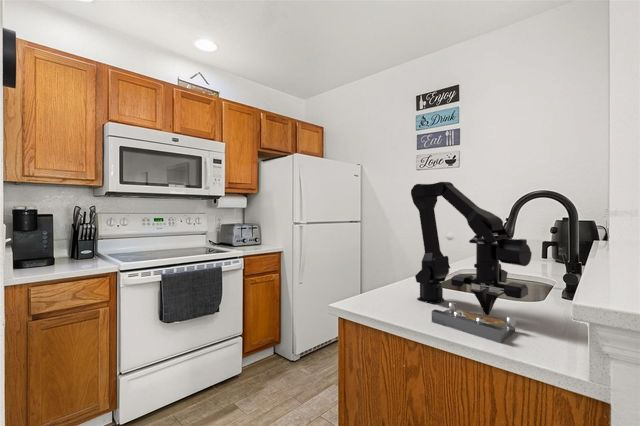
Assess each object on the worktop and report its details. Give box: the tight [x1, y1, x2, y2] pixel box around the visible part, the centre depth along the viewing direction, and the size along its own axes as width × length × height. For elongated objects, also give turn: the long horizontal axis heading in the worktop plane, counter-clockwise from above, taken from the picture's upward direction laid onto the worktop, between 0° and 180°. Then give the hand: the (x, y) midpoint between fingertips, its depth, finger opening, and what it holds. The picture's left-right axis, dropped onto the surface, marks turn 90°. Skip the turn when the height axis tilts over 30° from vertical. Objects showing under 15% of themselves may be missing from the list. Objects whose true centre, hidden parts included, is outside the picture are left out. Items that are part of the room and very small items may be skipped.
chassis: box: [431, 301, 516, 344], centre depth 86 cm, size 18×10×4 cm, turn 39°
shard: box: [461, 310, 506, 327], centre depth 90 cm, size 11×8×2 cm
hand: (487, 314), depth 91 cm, fingers closed
